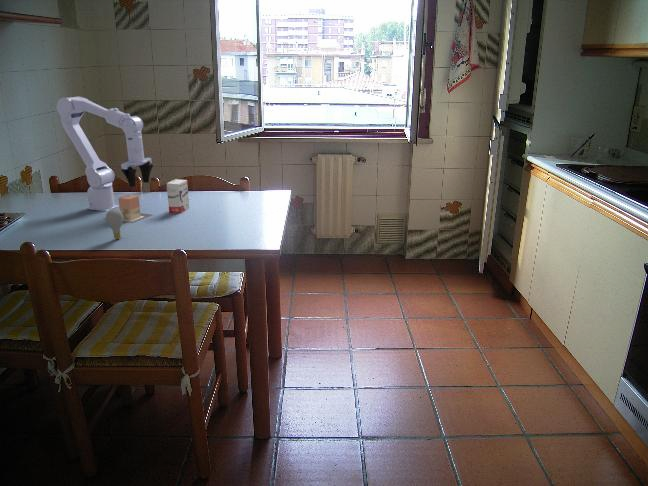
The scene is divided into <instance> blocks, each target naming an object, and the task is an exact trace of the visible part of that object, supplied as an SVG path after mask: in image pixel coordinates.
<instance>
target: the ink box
mask: <svg viewBox="0 0 648 486" xmlns="http://www.w3.org/2000/svg"><path fill="white" fill-rule="evenodd" d="M166 192H167V194H166V195H167V201H168V202H167V203H168V213H169V214H182V213H184V212H185V211H187V210H188V209H190V199H189V198H190V197H189V188H188V180H187V179H179V178H175V179H173V180H171V181H169V182H167V183H166Z"/></svg>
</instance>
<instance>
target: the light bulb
mask: <svg viewBox="0 0 648 486" xmlns="http://www.w3.org/2000/svg"><path fill="white" fill-rule="evenodd" d="M105 218H106V220H105V221H106V223H107V225H108V226H109V227H110V228H111V230H112V233H113V234H112V235H113V238H114V239H116V240H120V239H121V237H122V236H121V227H122V226H123V223H124V222H123V220H124V217H123V214H122V213H121V212H120V209H119V210H118V209H111V210H108V212H107V213H106V215H105Z"/></svg>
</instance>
